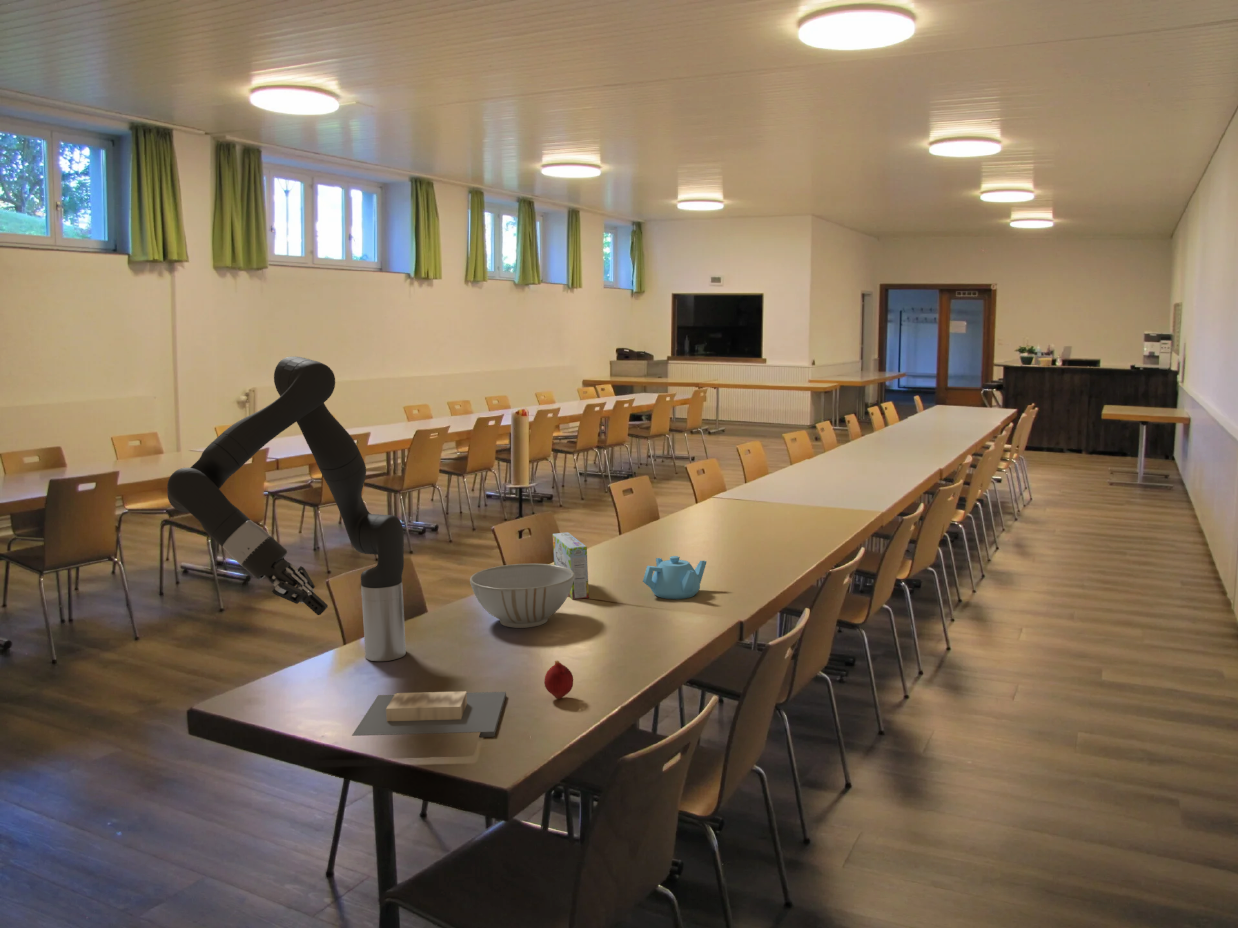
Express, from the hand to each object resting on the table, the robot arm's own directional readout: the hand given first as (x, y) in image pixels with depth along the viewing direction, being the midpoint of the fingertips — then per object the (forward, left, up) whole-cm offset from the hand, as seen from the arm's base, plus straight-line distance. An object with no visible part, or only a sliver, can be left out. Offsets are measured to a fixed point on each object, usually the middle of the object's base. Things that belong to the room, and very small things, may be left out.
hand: (323, 610), depth 182 cm
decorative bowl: (-63, +32, -22) cm, 74 cm away
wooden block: (0, +12, -19) cm, 23 cm away
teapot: (-86, +73, -22) cm, 115 cm away
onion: (-8, +44, -22) cm, 50 cm away
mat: (0, +20, -22) cm, 29 cm away
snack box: (-93, +43, -22) cm, 105 cm away
